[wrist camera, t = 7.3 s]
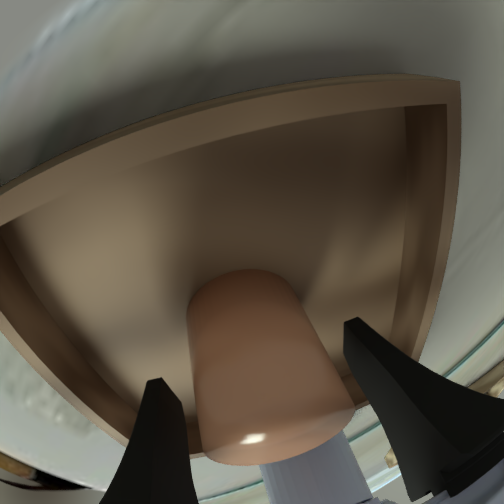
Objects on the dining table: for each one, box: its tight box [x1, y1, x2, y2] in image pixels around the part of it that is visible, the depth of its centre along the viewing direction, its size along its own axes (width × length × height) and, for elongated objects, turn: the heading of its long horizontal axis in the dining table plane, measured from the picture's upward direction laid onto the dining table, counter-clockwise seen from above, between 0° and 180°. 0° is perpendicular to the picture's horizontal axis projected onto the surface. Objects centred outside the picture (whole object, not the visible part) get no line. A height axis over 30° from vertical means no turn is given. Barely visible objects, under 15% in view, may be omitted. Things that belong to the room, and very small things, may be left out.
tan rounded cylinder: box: [186, 269, 355, 466], centre depth 11 cm, size 5×5×6 cm
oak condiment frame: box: [384, 360, 504, 469], centre depth 37 cm, size 17×27×2 cm, turn 102°
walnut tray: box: [0, 74, 461, 459], centre depth 13 cm, size 18×18×3 cm
